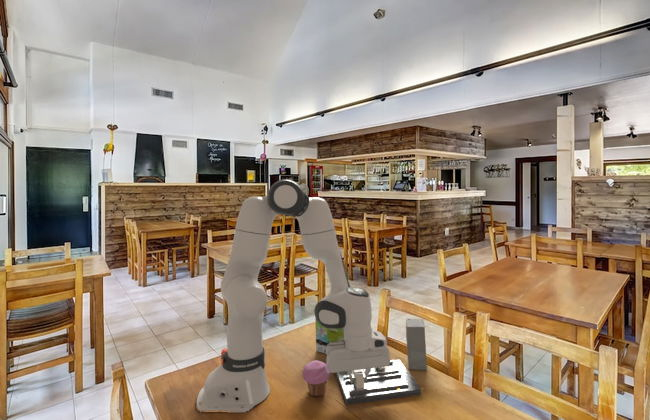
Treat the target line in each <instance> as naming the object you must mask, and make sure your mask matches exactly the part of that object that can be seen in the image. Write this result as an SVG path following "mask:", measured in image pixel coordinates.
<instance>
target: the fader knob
mask: <svg viewBox="0 0 650 420" xmlns="http://www.w3.org/2000/svg"><path fill="white" fill-rule="evenodd" d="M353 375H355V378H356V380H355V381H356V382H355V383H354V385H355V387H356V390H358V389H364V375H363V373H362V371H361V370H353Z"/></svg>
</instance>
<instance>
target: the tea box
mask: <svg viewBox="0 0 650 420" xmlns="http://www.w3.org/2000/svg"><path fill="white" fill-rule="evenodd" d="M314 317H315V316H314ZM337 341H344V329H343V328H338V329H332V328H325V327H323V326H321V325H320V324H319V323H318V321H317V320H316V317H315V349H316V352H320V353H323V354H325V355H326V346H327V345H328V344H330V342H337Z"/></svg>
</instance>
